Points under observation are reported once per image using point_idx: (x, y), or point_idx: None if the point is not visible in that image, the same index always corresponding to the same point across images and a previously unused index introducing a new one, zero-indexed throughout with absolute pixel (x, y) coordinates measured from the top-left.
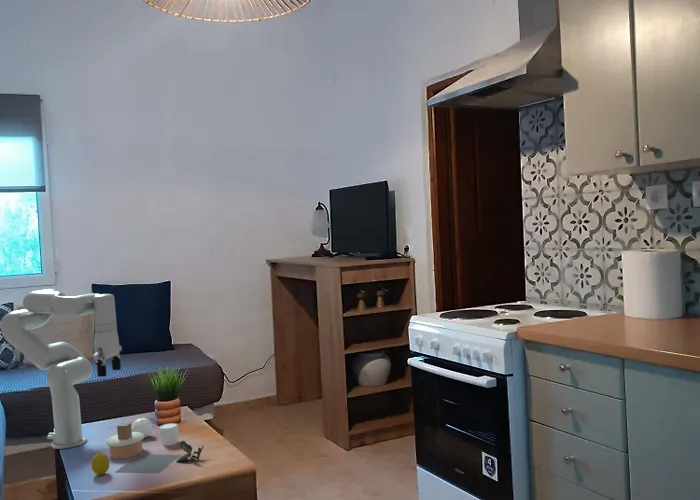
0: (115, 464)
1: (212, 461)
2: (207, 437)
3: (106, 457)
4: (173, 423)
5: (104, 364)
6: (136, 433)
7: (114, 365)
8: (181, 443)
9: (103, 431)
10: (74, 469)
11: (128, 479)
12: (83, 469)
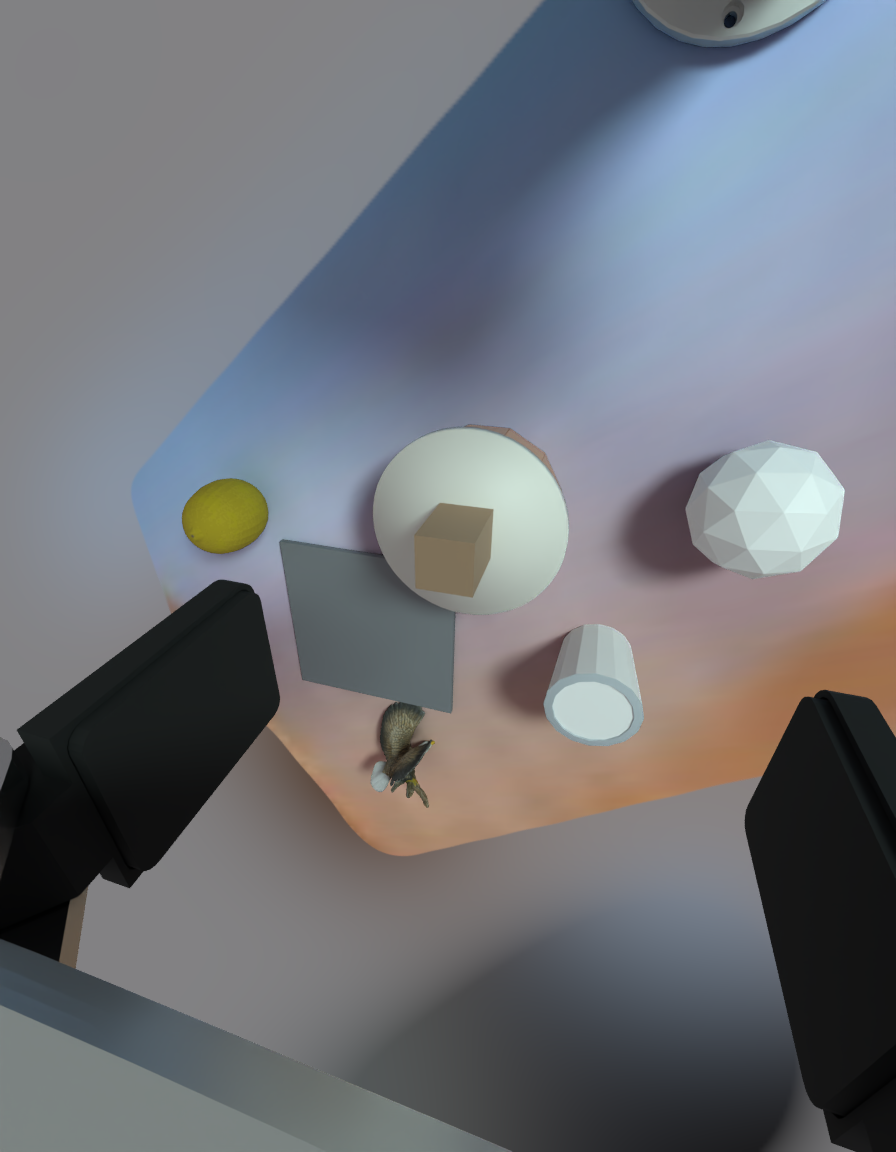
0: (362, 502)
1: None
2: (657, 769)
3: (217, 553)
4: (630, 726)
5: (84, 898)
6: (536, 566)
7: (816, 836)
8: (418, 758)
9: None
10: (288, 327)
11: None
12: (295, 378)
